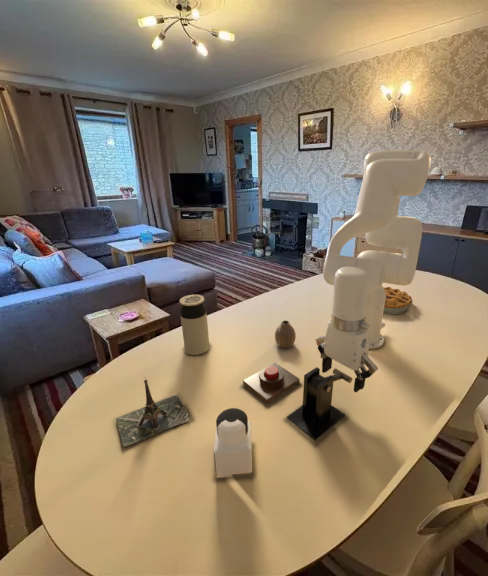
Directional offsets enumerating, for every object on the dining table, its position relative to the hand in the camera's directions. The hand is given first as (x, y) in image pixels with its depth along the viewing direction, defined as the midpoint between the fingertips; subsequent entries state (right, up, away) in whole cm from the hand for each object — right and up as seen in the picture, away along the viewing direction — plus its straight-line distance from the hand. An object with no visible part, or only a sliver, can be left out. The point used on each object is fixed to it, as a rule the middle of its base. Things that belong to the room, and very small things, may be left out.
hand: (341, 379), depth 78 cm
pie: (+31, +16, +55) cm, 65 cm away
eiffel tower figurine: (-46, -9, -4) cm, 47 cm away
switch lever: (-4, 0, -4) cm, 6 cm away
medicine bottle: (-25, -13, -14) cm, 32 cm away
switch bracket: (-7, -9, -4) cm, 12 cm away
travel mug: (-42, +3, +24) cm, 49 cm away
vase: (-13, +4, +26) cm, 29 cm away
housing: (-18, -4, +7) cm, 20 cm away
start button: (-18, -1, +6) cm, 19 cm away
